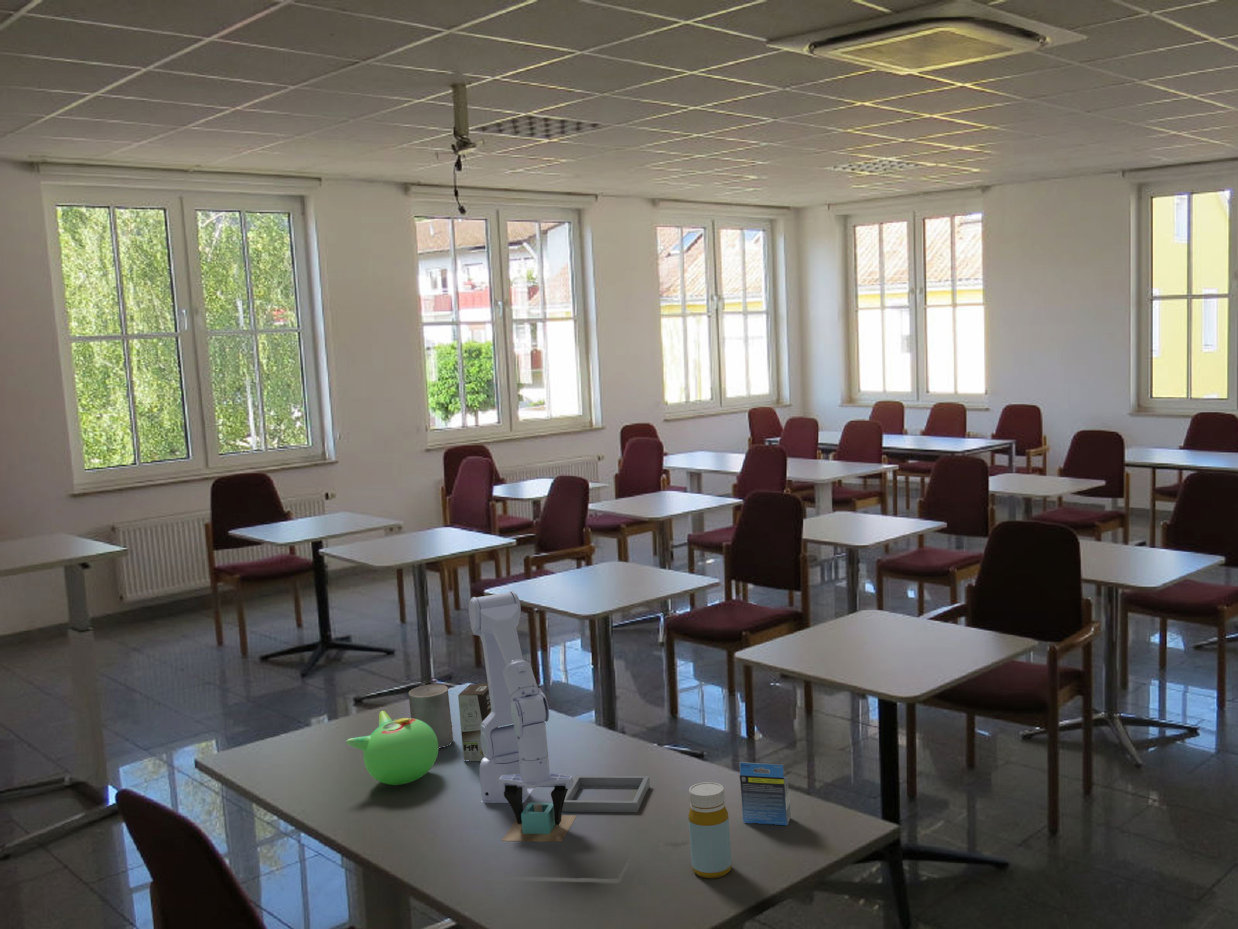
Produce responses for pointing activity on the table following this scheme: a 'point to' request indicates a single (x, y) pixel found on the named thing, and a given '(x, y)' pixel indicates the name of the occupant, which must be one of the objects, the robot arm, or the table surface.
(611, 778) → the tray
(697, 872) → the bottle
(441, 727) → the pillar candle
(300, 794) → the table surface
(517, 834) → the stake board
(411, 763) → the toy bird
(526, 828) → the teal hollow block
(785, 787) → the label tape box
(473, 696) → the coffee box
